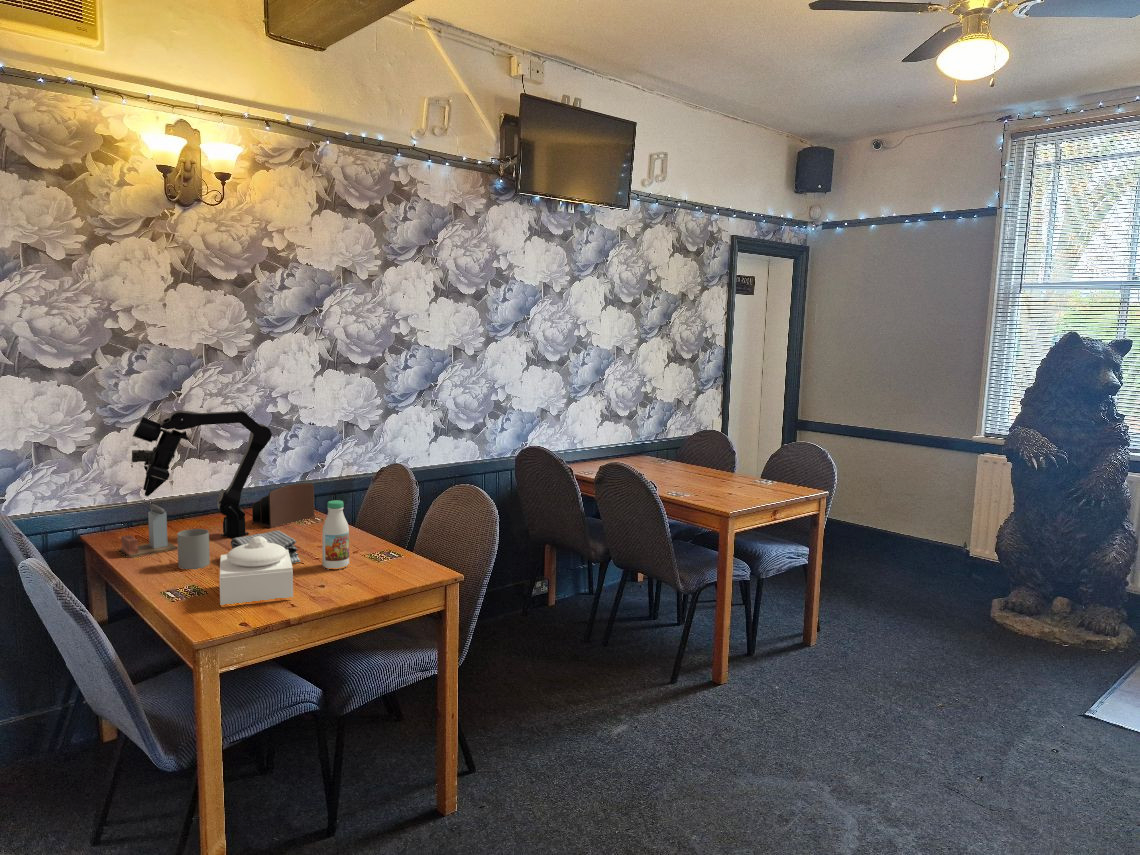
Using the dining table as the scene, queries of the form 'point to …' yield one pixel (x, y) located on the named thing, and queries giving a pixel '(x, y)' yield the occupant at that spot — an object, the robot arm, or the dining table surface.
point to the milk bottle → (335, 537)
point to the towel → (271, 537)
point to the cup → (193, 548)
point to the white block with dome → (255, 573)
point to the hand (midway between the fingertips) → (145, 493)
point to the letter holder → (284, 505)
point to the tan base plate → (140, 547)
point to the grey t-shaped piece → (157, 527)
